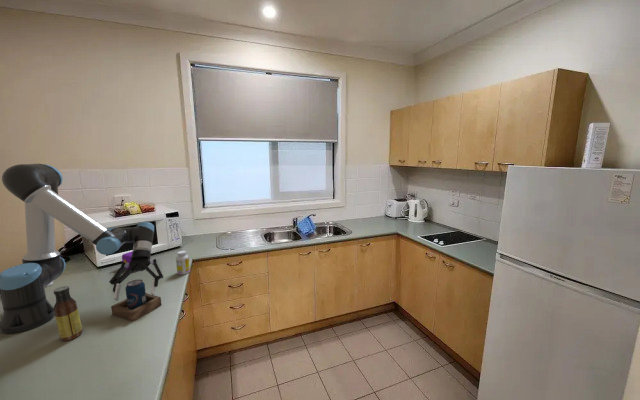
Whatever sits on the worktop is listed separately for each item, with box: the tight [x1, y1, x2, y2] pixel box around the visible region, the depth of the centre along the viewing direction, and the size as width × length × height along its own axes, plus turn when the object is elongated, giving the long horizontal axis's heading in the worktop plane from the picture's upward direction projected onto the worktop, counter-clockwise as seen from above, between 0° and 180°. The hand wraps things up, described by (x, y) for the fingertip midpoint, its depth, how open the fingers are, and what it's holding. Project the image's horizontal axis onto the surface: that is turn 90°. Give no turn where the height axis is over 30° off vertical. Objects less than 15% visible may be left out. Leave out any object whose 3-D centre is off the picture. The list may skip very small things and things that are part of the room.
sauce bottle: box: [53, 285, 83, 342], centre depth 96 cm, size 6×6×20 cm
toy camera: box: [121, 250, 133, 270], centre depth 159 cm, size 11×14×10 cm
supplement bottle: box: [175, 250, 191, 276], centre depth 152 cm, size 7×7×13 cm
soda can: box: [125, 279, 147, 310], centre depth 114 cm, size 7×7×12 cm
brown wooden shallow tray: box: [110, 292, 162, 322], centre depth 115 cm, size 13×13×4 cm
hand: (134, 296), depth 112 cm, fingers open, 13 cm apart
